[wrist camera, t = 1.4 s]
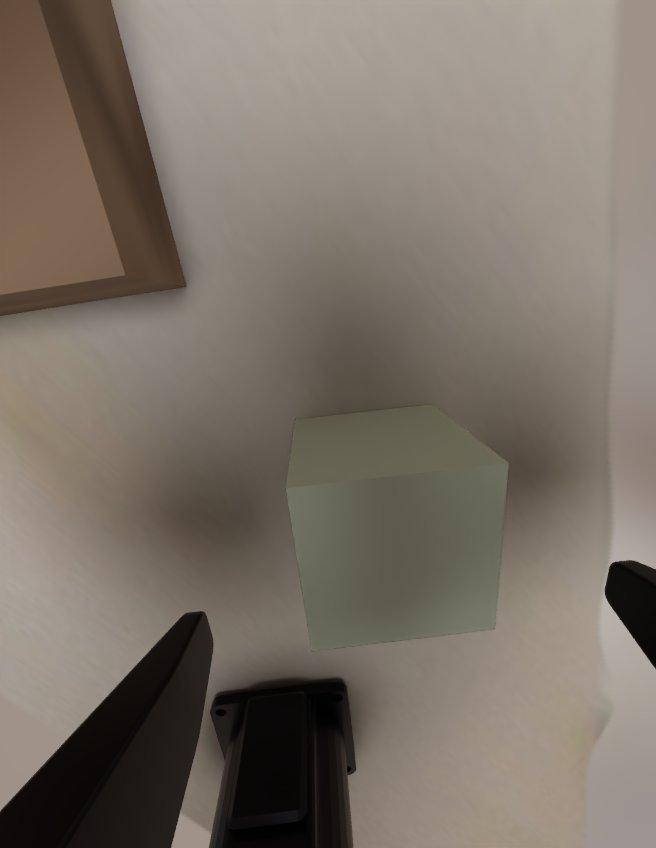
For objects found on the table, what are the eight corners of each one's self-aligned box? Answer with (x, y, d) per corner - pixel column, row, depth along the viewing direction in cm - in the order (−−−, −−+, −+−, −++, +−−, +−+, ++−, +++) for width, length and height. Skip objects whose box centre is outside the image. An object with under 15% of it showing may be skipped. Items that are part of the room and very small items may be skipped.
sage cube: (431, 520, 14) (494, 629, 9) (311, 534, 14) (311, 651, 9) (432, 403, 12) (508, 463, 8) (295, 418, 12) (285, 488, 7)
